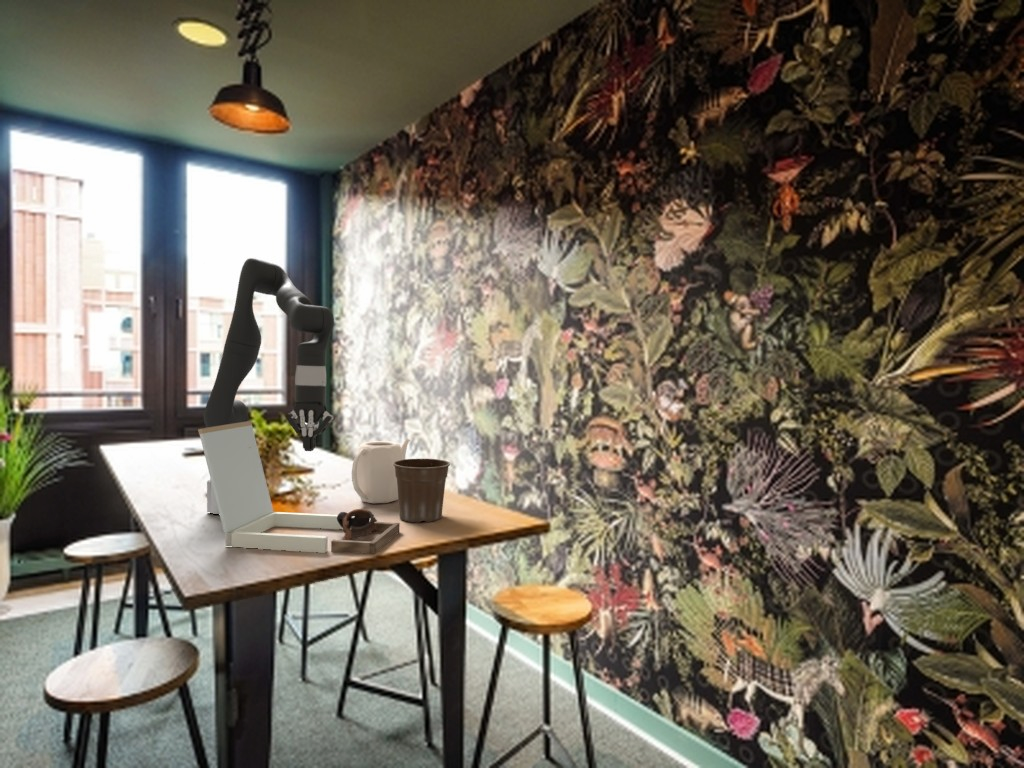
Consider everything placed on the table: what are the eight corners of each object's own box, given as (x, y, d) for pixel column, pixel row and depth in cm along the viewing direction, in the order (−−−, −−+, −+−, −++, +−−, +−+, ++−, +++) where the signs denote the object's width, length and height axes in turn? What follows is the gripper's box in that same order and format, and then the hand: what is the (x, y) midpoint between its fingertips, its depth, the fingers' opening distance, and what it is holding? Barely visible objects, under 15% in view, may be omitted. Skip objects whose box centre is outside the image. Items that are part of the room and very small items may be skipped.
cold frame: (198, 545, 145) (197, 428, 144) (247, 523, 165) (247, 420, 165) (324, 552, 140) (325, 432, 139) (359, 528, 161) (359, 423, 160)
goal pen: (331, 551, 142) (331, 541, 141) (361, 530, 160) (361, 521, 160) (374, 553, 140) (374, 543, 140) (399, 532, 158) (399, 522, 158)
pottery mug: (385, 535, 157) (384, 512, 153) (363, 560, 150) (362, 537, 146) (347, 519, 161) (345, 496, 157) (324, 543, 154) (321, 519, 149)
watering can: (426, 495, 204) (427, 440, 203) (371, 511, 181) (371, 449, 180) (391, 490, 212) (392, 436, 211) (334, 504, 189) (334, 444, 188)
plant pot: (458, 514, 179) (459, 460, 178) (433, 527, 163) (434, 468, 163) (410, 509, 184) (410, 456, 184) (382, 521, 169) (382, 464, 168)
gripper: (278, 382, 151) (277, 451, 151) (328, 385, 149) (326, 454, 149) (294, 382, 158) (292, 447, 159) (341, 384, 156) (339, 450, 157)
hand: (309, 450), depth 154 cm, fingers closed
